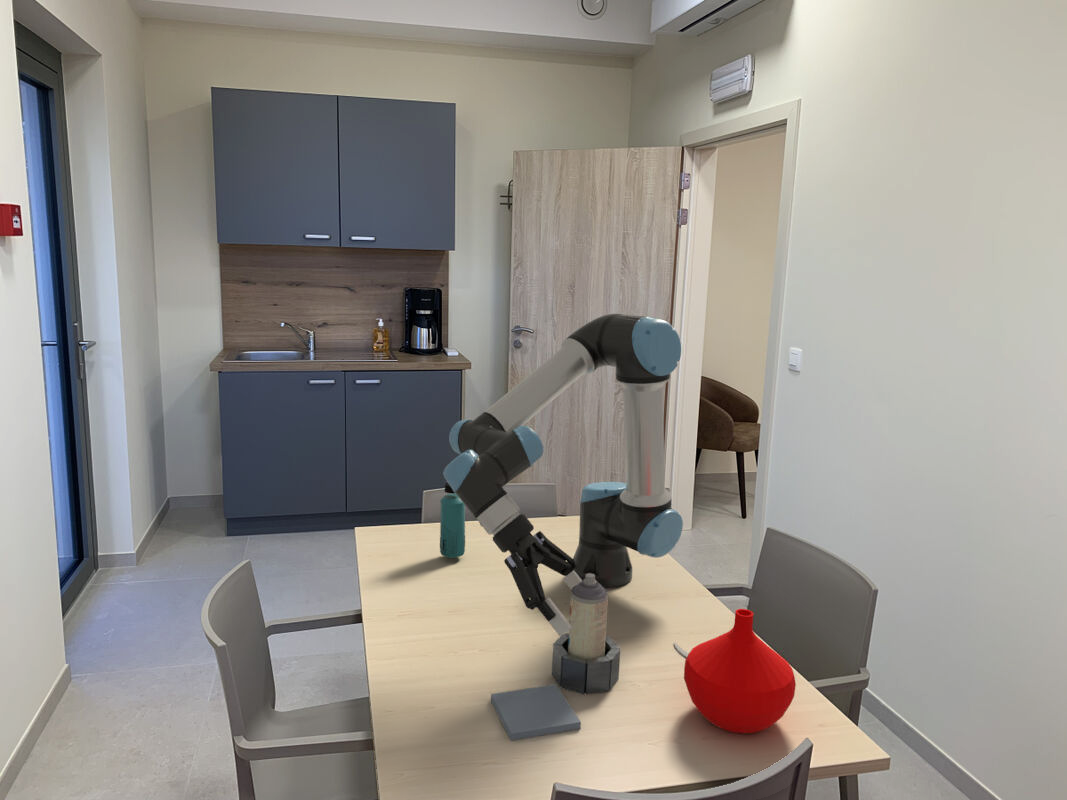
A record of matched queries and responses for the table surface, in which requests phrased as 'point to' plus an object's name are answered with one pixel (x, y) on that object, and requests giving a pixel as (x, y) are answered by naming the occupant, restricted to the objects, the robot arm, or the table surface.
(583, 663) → the ring
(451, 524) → the beverage bottle
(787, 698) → the vase
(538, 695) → the rubber mat
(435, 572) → the table surface
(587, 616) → the aerosol can
